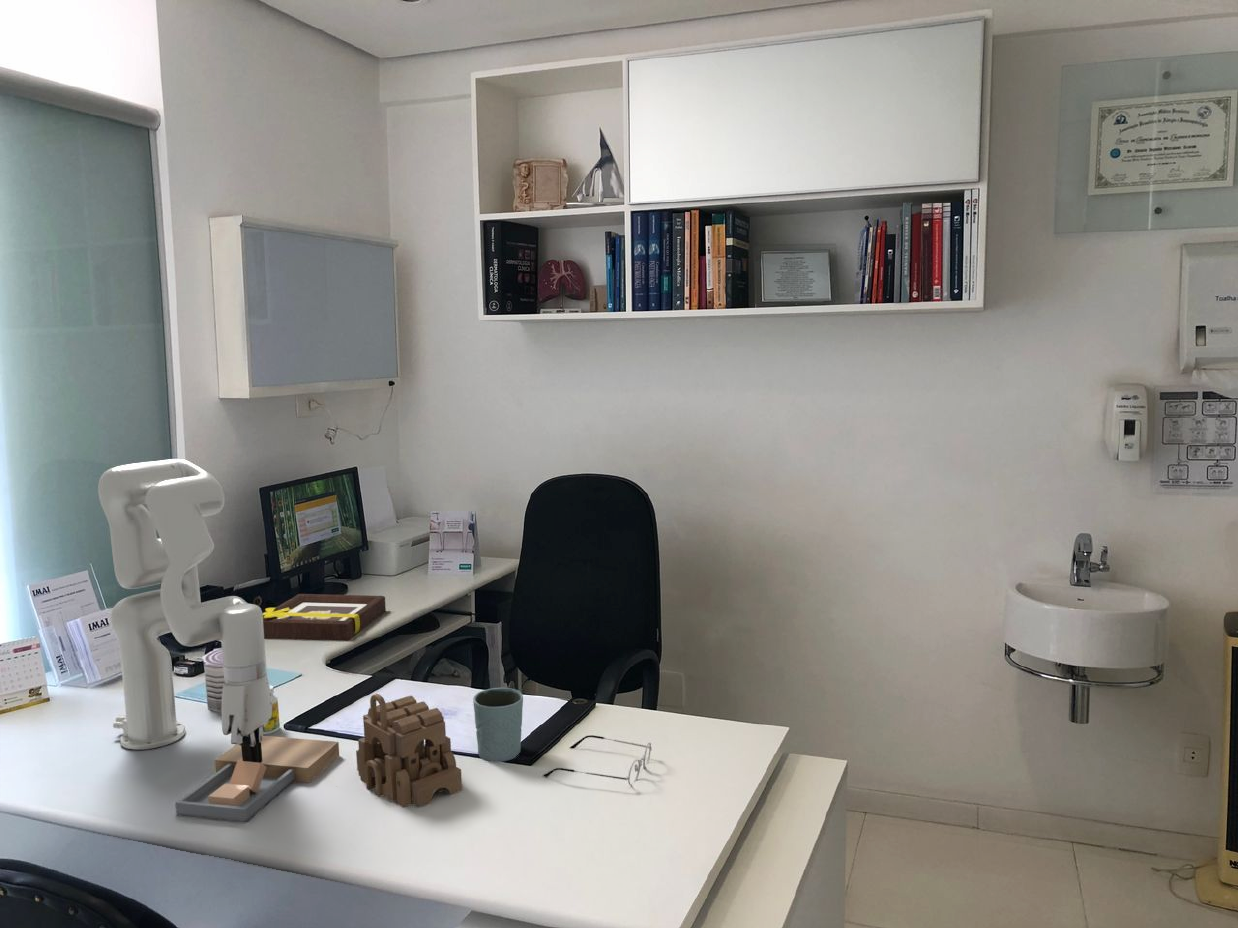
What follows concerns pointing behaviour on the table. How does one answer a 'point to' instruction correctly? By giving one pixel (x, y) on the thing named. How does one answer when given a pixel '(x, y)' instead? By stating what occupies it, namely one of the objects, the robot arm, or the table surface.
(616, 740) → the eyeglasses
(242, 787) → the tile front
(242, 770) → the tile rear
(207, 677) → the can
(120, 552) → the robot arm
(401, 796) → the wooden puzzle
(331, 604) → the picture frame
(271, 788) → the tray
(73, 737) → the table surface
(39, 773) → the table surface
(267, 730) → the supplement bottle
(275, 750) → the board
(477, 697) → the green cup
